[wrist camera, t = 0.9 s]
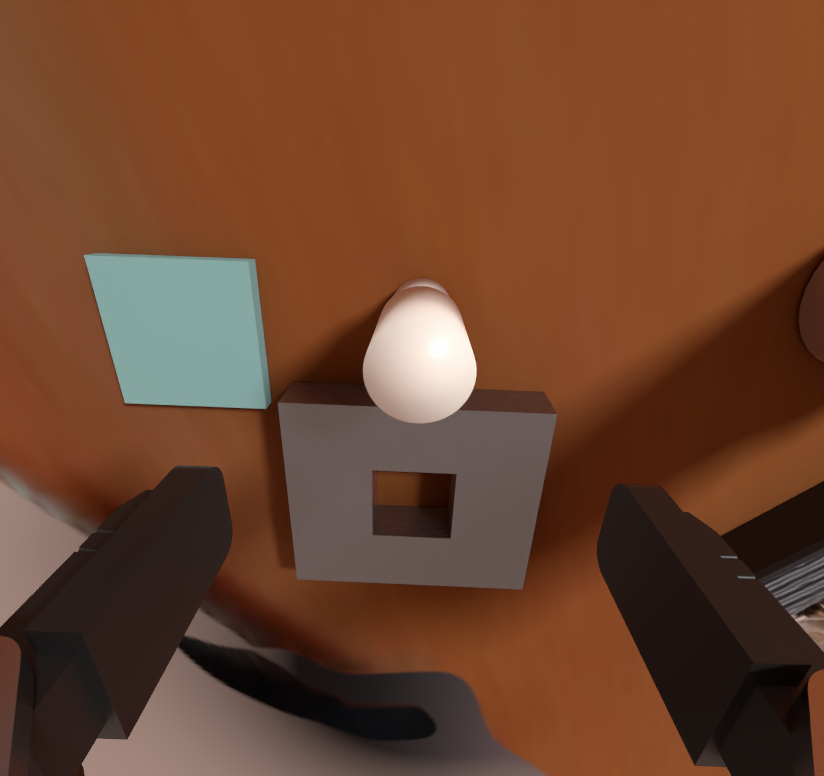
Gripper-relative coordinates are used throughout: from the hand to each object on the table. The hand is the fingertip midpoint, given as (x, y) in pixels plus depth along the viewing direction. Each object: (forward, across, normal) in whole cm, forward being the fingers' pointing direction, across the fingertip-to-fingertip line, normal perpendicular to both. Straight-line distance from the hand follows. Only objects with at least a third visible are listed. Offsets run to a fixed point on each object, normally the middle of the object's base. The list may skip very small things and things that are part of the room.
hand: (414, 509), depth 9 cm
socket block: (+17, 0, +12) cm, 21 cm away
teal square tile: (+18, +14, +2) cm, 22 cm away
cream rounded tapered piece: (+17, 0, 0) cm, 17 cm away
